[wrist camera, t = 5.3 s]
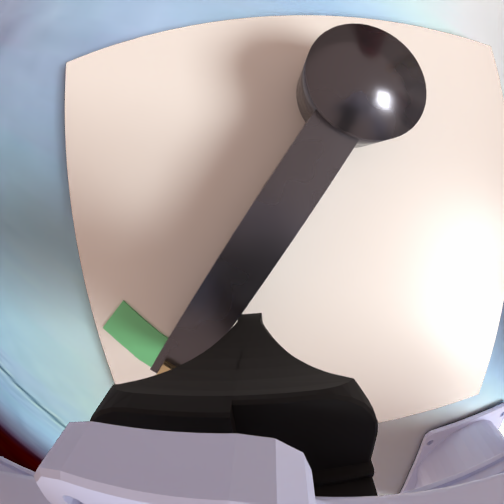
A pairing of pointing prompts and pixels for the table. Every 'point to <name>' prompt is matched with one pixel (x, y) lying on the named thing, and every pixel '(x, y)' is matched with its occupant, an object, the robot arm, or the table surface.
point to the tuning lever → (304, 171)
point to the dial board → (319, 221)
